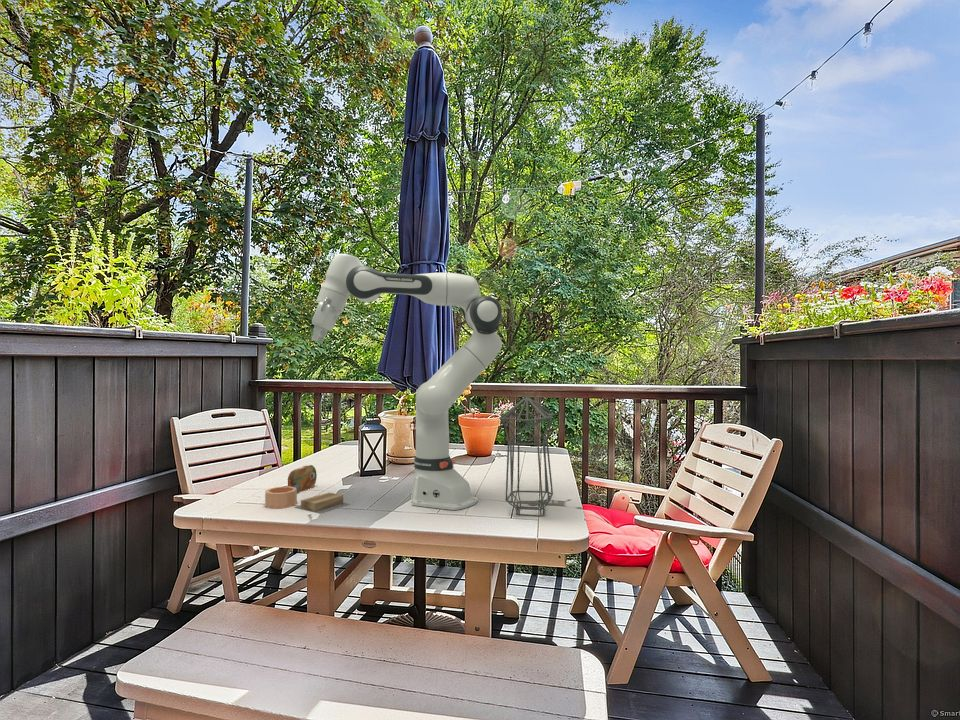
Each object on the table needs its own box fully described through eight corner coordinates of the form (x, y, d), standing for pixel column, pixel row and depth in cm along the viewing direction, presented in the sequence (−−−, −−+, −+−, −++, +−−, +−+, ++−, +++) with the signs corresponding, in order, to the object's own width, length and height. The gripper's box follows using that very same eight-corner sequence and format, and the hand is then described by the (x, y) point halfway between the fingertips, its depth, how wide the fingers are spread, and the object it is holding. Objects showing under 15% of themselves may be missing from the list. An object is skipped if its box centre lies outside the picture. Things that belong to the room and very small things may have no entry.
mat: (350, 505, 156) (350, 504, 156) (320, 515, 146) (320, 513, 146) (324, 500, 163) (324, 498, 163) (293, 509, 153) (293, 507, 153)
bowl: (302, 504, 157) (302, 488, 157) (277, 511, 150) (277, 495, 150) (284, 500, 162) (284, 485, 162) (259, 507, 154) (259, 491, 154)
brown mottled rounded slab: (294, 496, 167) (294, 471, 167) (285, 496, 168) (285, 471, 168) (317, 486, 182) (317, 463, 182) (309, 485, 182) (309, 462, 182)
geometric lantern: (553, 522, 142) (551, 399, 142) (499, 519, 145) (496, 399, 145) (557, 506, 157) (555, 395, 157) (508, 503, 160) (506, 395, 160)
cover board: (343, 503, 158) (343, 495, 158) (315, 511, 148) (315, 503, 148) (328, 500, 161) (329, 492, 161) (300, 508, 152) (300, 500, 152)
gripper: (336, 300, 151) (321, 343, 150) (344, 308, 171) (330, 345, 170) (316, 293, 150) (300, 336, 149) (326, 301, 170) (312, 339, 169)
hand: (316, 341), depth 160 cm, fingers open, 8 cm apart
